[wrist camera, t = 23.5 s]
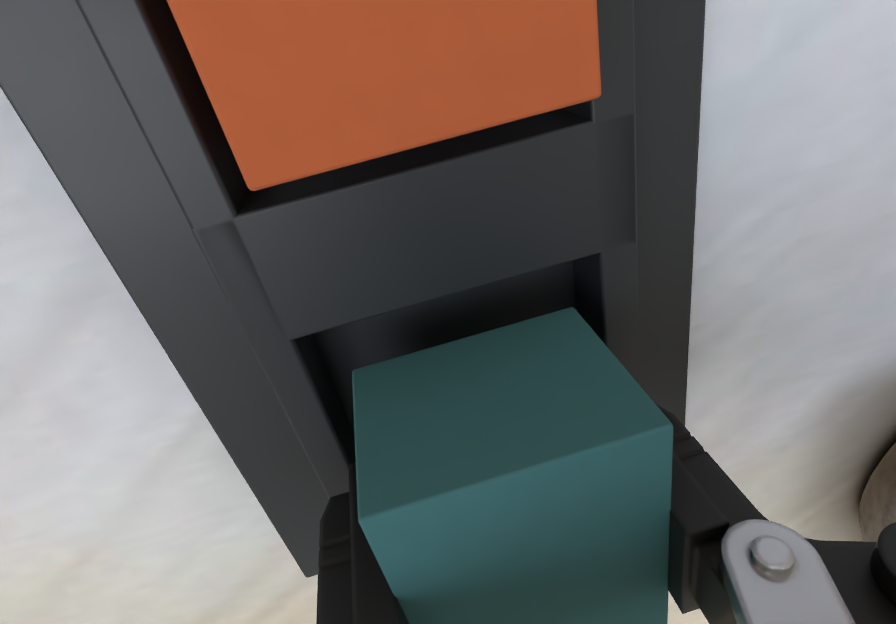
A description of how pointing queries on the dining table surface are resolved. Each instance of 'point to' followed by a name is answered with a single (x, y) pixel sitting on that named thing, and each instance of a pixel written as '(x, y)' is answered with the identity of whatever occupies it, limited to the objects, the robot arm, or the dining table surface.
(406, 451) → the teal rectangular block
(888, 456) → the mortar
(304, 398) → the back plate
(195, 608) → the dining table surface
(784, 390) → the dining table surface
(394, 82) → the orange block
